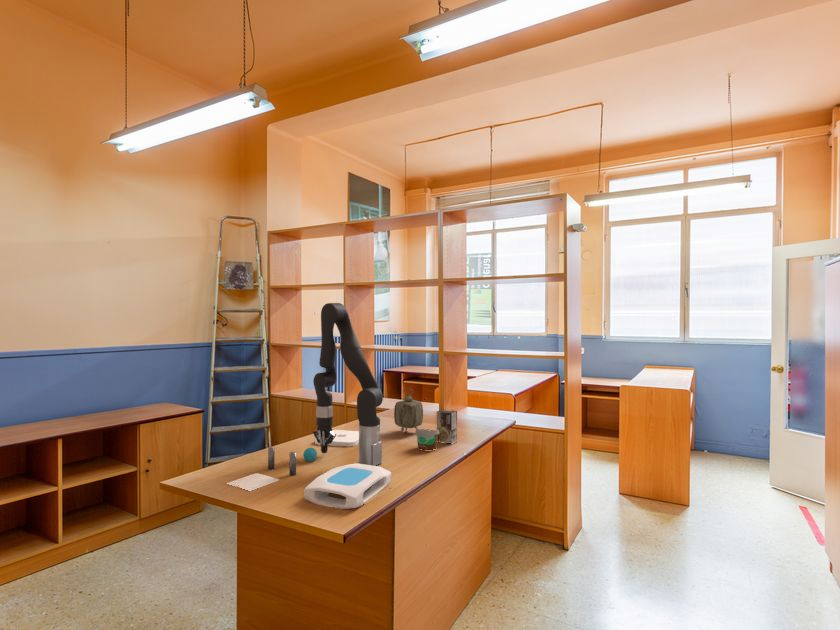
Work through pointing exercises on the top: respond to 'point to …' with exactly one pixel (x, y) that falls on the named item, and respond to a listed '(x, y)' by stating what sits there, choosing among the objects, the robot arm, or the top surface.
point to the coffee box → (447, 425)
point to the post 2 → (292, 464)
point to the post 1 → (271, 457)
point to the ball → (310, 454)
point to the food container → (427, 438)
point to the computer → (344, 438)
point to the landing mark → (253, 481)
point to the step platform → (347, 485)
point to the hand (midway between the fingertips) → (324, 452)
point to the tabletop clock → (408, 412)
